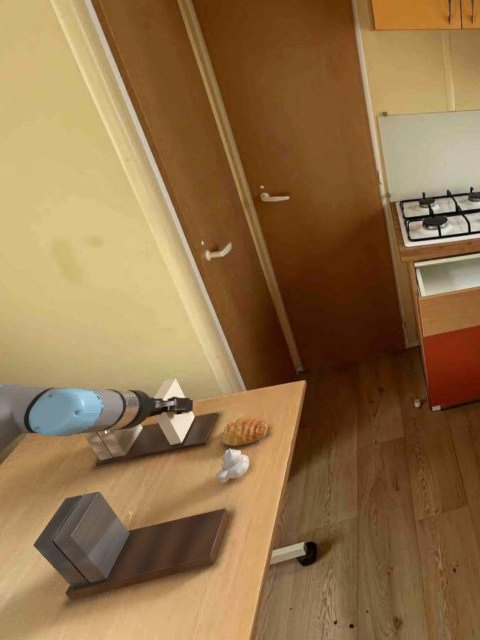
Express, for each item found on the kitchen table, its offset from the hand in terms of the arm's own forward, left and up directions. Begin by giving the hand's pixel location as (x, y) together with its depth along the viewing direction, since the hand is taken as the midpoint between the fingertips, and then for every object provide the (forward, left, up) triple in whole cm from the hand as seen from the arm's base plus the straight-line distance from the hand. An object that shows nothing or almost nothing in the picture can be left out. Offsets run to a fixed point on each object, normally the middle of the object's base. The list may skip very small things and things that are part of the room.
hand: (183, 407), depth 105 cm
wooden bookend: (-4, -5, -5) cm, 8 cm away
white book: (+1, -4, -4) cm, 6 cm away
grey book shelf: (+12, -32, -5) cm, 35 cm away
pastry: (+16, -5, -6) cm, 17 cm away
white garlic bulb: (+19, -16, -6) cm, 25 cm away
